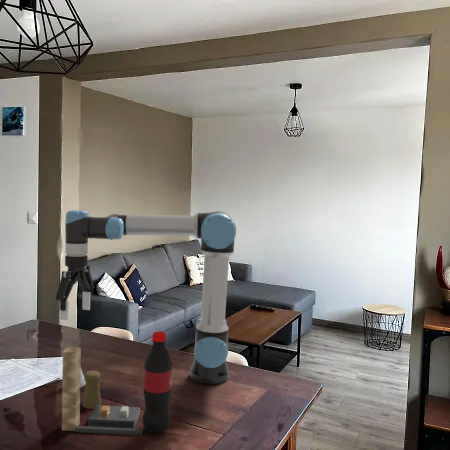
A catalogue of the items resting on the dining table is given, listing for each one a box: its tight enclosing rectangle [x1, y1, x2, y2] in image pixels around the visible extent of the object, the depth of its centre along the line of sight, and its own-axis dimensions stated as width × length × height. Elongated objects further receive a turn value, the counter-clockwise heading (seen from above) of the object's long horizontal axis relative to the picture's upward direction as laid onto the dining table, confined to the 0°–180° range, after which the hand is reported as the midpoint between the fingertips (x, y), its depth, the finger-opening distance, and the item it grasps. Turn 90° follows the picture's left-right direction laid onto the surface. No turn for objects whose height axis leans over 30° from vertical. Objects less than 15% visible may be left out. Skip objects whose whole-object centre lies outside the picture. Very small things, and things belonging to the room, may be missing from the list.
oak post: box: [61, 346, 82, 432], centre depth 141 cm, size 4×4×24 cm
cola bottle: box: [142, 330, 173, 435], centre depth 142 cm, size 8×8×30 cm
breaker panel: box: [87, 404, 141, 429], centre depth 147 cm, size 14×9×4 cm, turn 89°
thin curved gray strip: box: [74, 425, 144, 436], centre depth 140 cm, size 20×1×1 cm, turn 89°
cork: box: [82, 370, 102, 410], centre depth 157 cm, size 6×6×11 cm
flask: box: [80, 366, 86, 389], centre depth 171 cm, size 7×7×10 cm
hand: (75, 314), depth 167 cm, fingers open, 13 cm apart
